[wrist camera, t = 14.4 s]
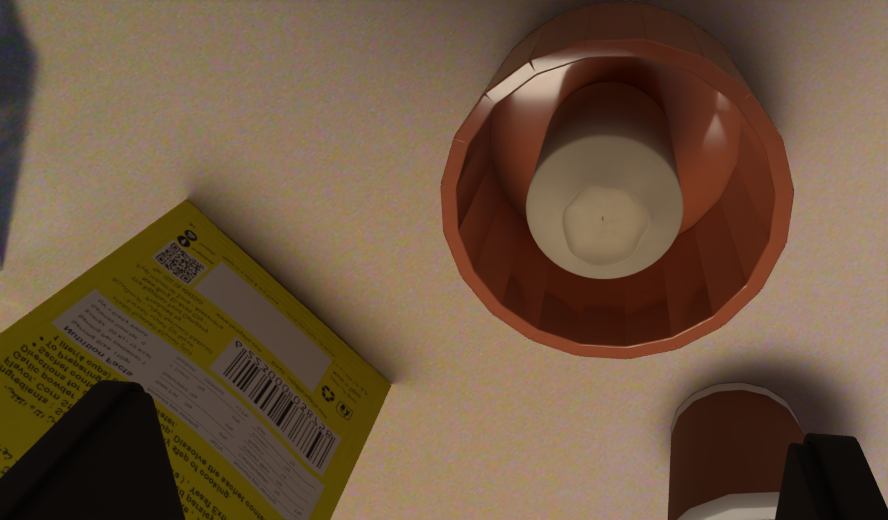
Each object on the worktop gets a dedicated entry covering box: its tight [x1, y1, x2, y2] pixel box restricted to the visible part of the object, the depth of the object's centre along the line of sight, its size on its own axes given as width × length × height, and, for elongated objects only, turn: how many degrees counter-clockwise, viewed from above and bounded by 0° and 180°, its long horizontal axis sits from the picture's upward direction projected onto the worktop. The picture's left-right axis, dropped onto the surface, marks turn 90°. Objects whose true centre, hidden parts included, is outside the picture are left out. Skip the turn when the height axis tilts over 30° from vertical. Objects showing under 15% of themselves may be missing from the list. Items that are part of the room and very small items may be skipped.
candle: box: [526, 82, 683, 279], centre depth 30 cm, size 6×6×10 cm
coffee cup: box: [668, 382, 805, 520], centre depth 36 cm, size 9×9×12 cm
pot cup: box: [441, 2, 794, 359], centre depth 31 cm, size 12×12×9 cm
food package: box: [0, 200, 391, 520], centre depth 34 cm, size 15×1×20 cm, turn 47°
